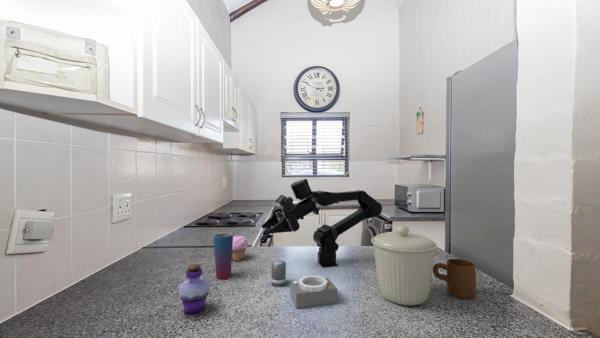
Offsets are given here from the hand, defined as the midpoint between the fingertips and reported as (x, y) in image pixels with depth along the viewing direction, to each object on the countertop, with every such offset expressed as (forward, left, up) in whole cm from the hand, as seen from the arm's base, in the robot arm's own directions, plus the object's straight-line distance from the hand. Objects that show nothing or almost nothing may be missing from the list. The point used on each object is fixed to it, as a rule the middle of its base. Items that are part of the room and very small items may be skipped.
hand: (265, 229), depth 97 cm
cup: (+15, -2, -16) cm, 22 cm away
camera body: (-11, +22, -16) cm, 30 cm away
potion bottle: (+22, +19, -16) cm, 33 cm away
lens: (-3, +9, -16) cm, 19 cm away
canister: (-37, +28, -16) cm, 50 cm away
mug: (-53, +30, -16) cm, 63 cm away
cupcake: (+10, -20, -16) cm, 27 cm away
